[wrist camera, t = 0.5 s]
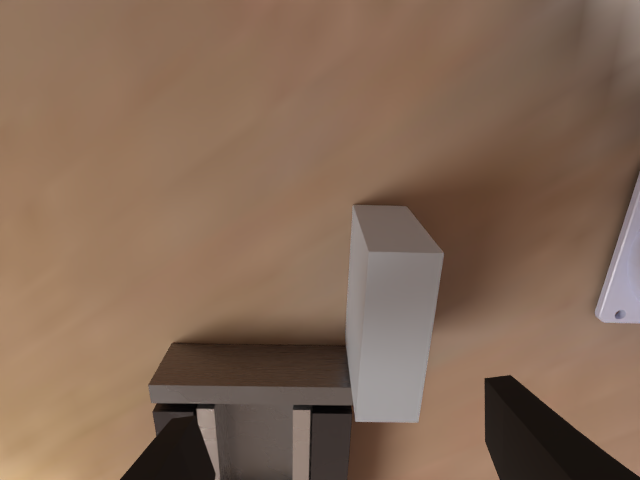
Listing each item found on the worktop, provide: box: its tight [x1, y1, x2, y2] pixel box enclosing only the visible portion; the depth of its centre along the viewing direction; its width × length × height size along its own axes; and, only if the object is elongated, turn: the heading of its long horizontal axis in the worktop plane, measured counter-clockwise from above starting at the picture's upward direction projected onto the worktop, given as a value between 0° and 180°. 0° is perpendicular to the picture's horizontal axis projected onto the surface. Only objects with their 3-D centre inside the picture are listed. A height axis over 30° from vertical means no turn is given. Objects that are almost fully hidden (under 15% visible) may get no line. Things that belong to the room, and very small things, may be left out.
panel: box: [345, 205, 444, 423], centre depth 16 cm, size 2×7×6 cm, turn 178°
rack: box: [148, 344, 353, 480], centre depth 21 cm, size 9×12×3 cm
